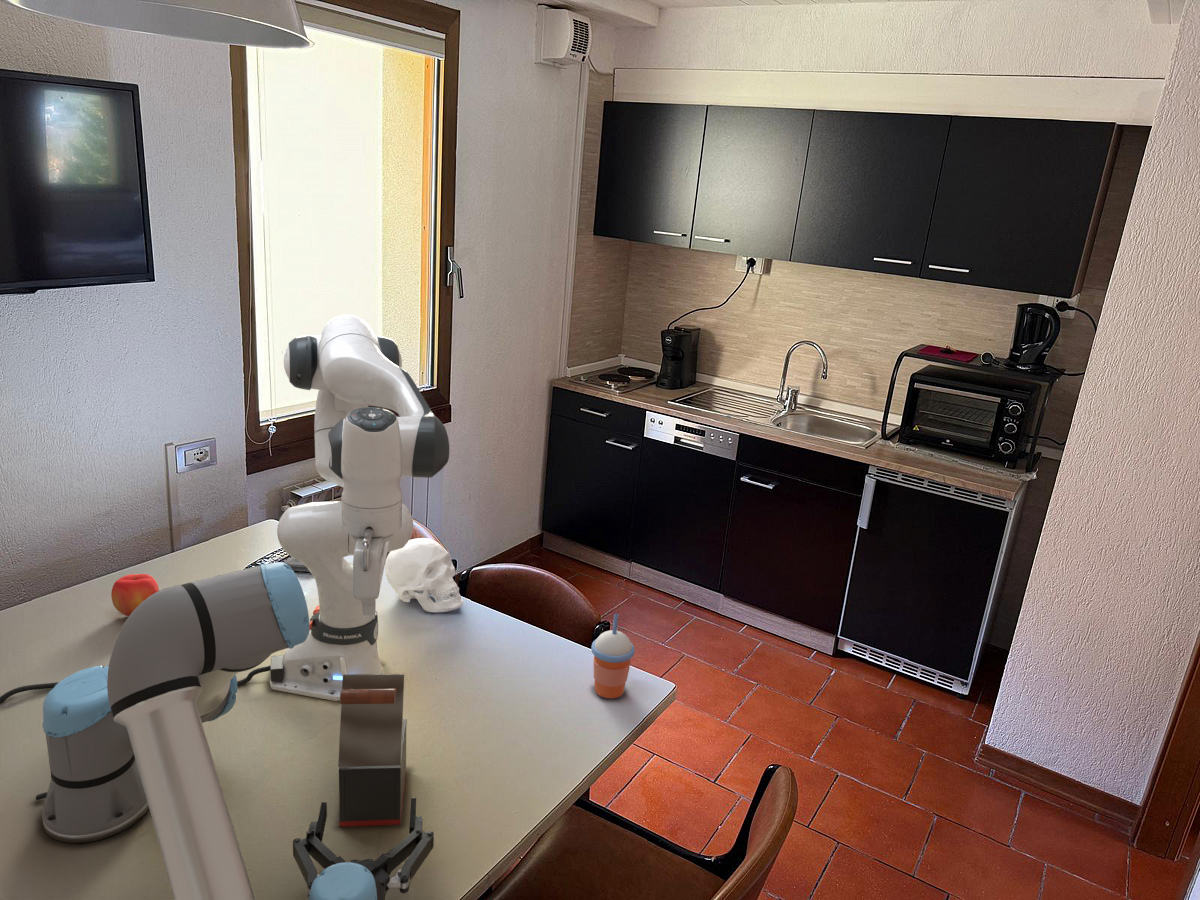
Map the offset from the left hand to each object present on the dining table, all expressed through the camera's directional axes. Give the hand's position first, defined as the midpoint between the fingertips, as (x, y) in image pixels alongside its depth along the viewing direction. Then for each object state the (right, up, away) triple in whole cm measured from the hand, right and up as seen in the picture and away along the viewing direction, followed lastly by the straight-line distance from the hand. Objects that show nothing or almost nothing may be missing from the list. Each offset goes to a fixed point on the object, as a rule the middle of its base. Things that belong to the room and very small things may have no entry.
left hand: (369, 807), depth 134 cm
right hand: (+1, +33, -1) cm, 33 cm away
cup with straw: (+38, +5, +47) cm, 61 cm away
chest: (-2, -3, +11) cm, 12 cm away
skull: (-7, +18, +79) cm, 81 cm away
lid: (0, +13, +3) cm, 13 cm away
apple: (-70, +18, +61) cm, 95 cm away
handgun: (-44, +24, +86) cm, 100 cm away
